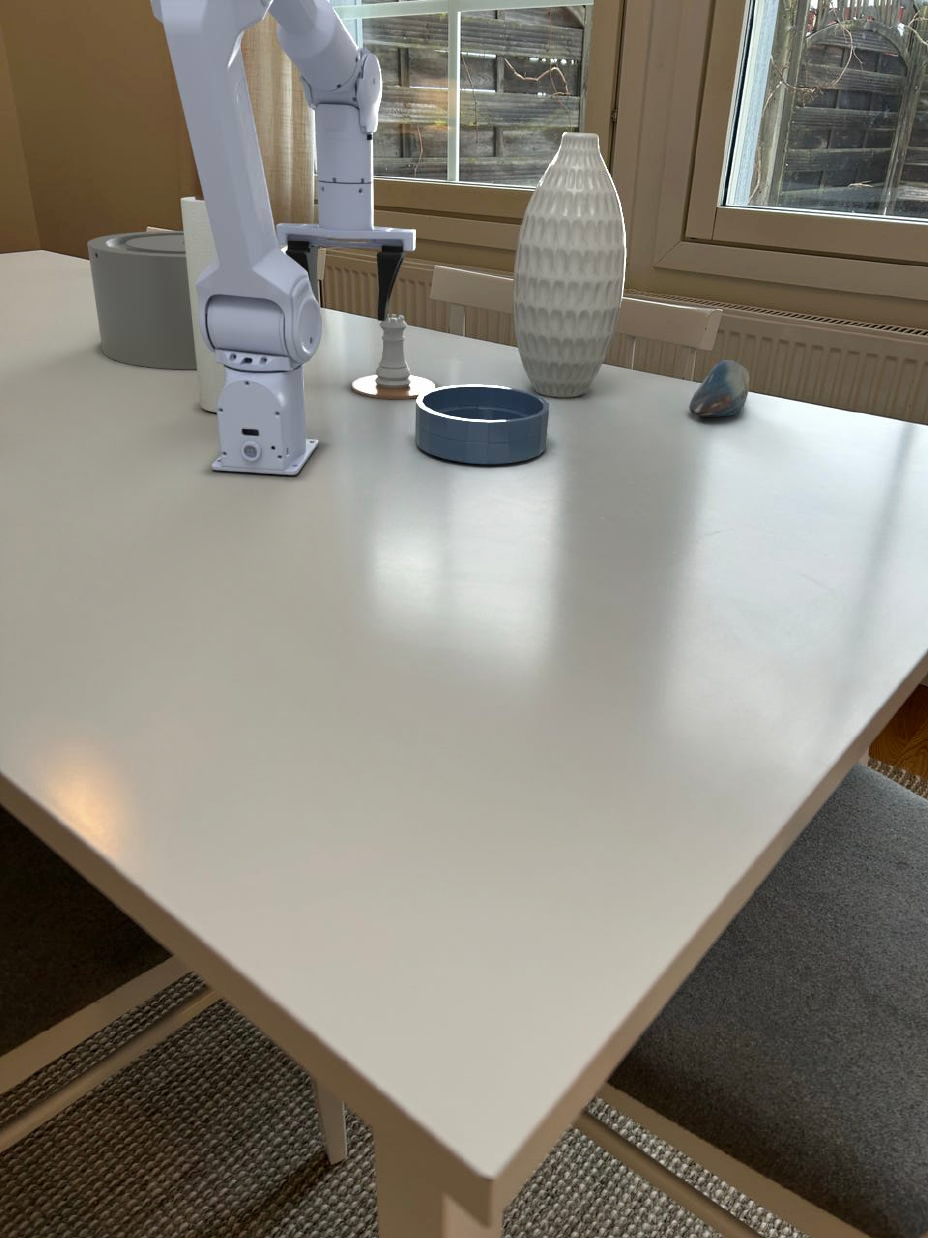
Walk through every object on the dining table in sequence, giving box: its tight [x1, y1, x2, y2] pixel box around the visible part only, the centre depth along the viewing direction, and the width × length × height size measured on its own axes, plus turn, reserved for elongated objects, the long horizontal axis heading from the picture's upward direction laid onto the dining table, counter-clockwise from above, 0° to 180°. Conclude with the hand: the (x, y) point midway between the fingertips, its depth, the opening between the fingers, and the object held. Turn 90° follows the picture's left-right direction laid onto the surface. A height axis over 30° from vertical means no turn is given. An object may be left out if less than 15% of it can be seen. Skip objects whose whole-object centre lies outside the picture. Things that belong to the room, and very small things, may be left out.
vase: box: [512, 131, 627, 399], centre depth 110 cm, size 13×13×28 cm
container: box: [86, 230, 288, 370], centre depth 126 cm, size 25×25×13 cm
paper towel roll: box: [180, 195, 225, 413], centre depth 100 cm, size 7×6×21 cm
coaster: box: [351, 374, 436, 400], centre depth 115 cm, size 10×10×1 cm
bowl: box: [414, 384, 550, 466], centre depth 96 cm, size 13×13×4 cm
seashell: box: [688, 359, 751, 418], centre depth 109 cm, size 6×9×10 cm
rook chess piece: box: [374, 313, 412, 389], centre depth 113 cm, size 4×4×8 cm
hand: (348, 317), depth 104 cm, fingers open, 7 cm apart
